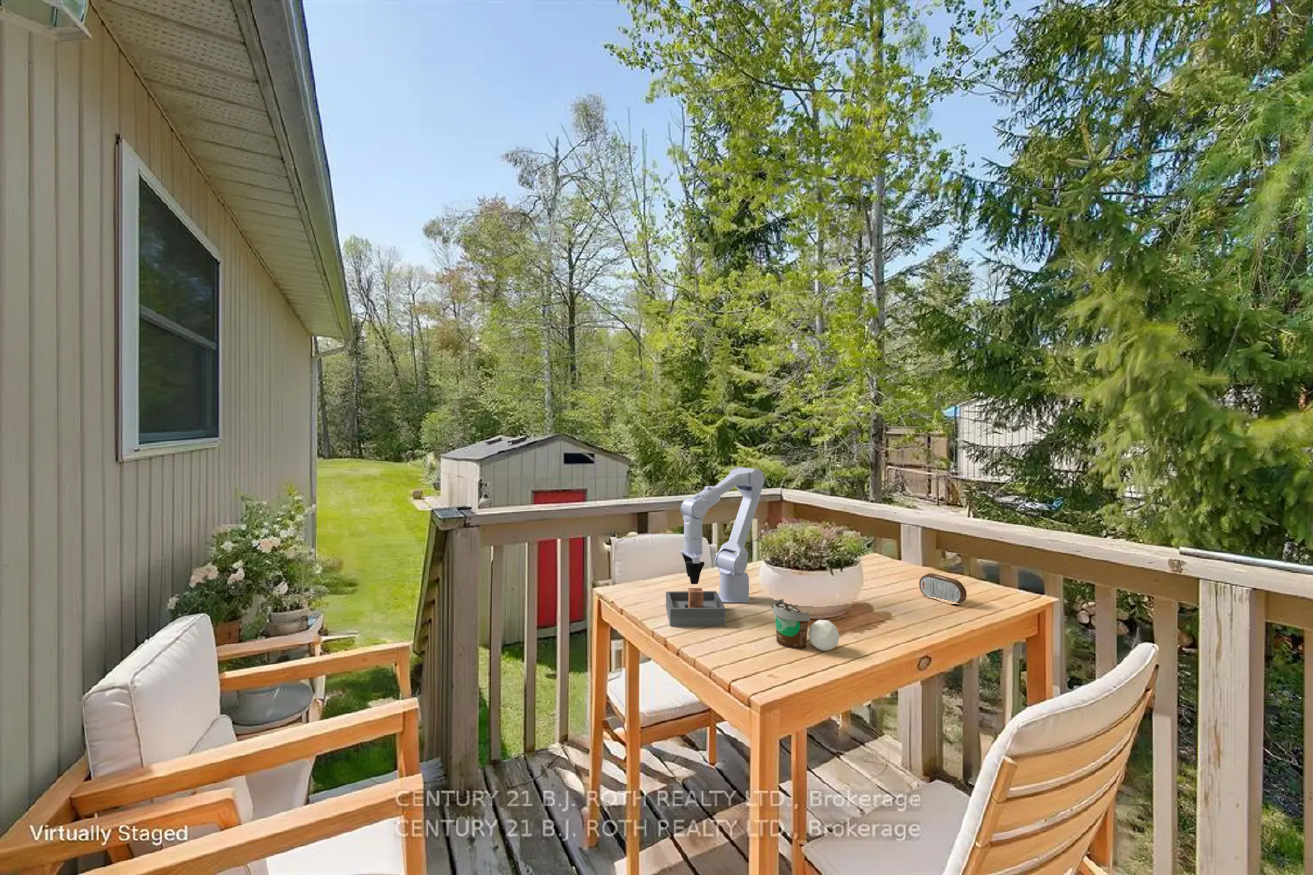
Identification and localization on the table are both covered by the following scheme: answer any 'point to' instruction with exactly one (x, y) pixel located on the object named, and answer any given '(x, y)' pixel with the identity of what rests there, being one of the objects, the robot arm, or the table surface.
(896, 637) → the table surface
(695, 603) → the peg
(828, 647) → the ball
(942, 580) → the tin
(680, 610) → the hole box
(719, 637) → the table surface
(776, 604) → the food container
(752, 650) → the table surface
